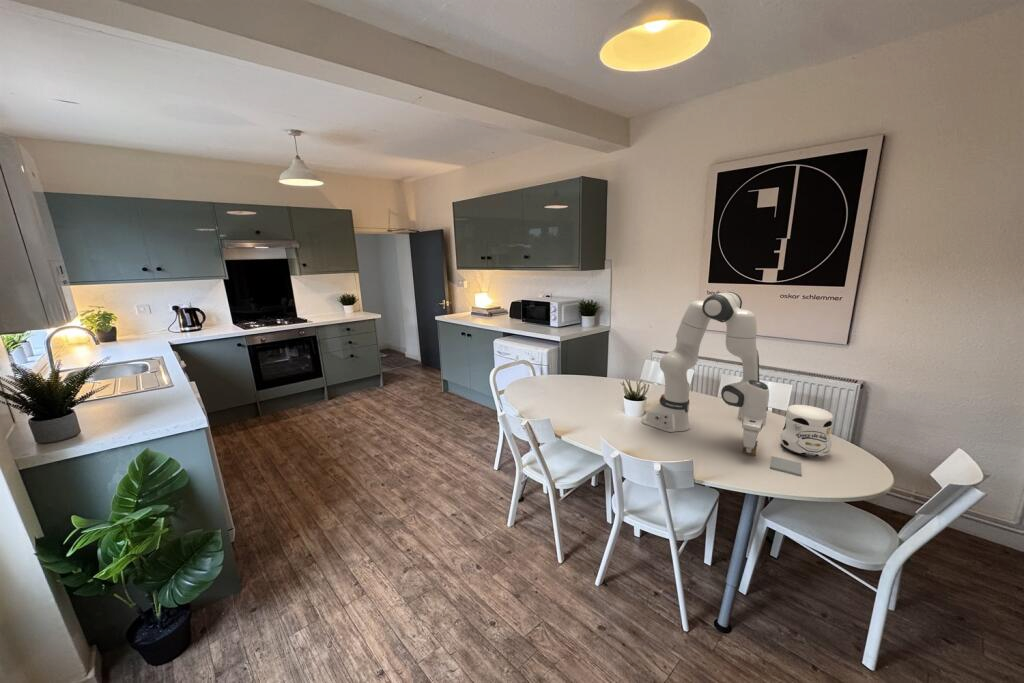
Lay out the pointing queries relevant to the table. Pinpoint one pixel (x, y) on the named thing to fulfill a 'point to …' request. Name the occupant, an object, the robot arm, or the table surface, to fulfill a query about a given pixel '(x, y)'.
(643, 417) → the robot arm
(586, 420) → the table surface
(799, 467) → the coaster
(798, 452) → the milk container
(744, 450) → the walnut cube
